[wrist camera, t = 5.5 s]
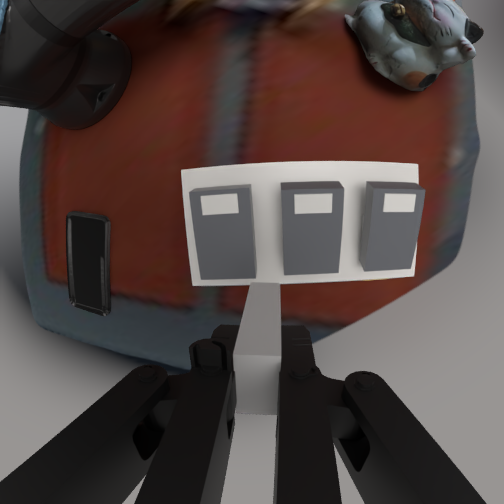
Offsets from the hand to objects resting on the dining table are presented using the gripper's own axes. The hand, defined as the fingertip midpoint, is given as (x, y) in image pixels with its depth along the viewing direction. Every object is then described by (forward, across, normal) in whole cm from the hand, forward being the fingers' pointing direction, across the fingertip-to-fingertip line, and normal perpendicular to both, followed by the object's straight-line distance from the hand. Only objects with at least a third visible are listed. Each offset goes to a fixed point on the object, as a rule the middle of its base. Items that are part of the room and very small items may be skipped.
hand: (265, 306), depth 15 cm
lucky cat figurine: (+20, +17, +26) cm, 37 cm away
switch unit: (+20, +4, +2) cm, 20 cm away
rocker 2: (+11, +4, +2) cm, 12 cm away
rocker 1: (+11, -4, +2) cm, 12 cm away
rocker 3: (+11, +11, +3) cm, 16 cm away
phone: (+20, -26, -4) cm, 33 cm away
